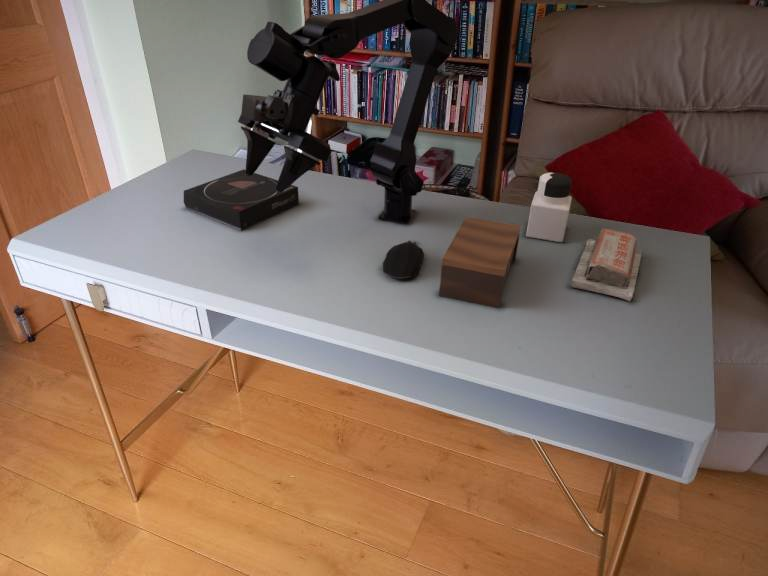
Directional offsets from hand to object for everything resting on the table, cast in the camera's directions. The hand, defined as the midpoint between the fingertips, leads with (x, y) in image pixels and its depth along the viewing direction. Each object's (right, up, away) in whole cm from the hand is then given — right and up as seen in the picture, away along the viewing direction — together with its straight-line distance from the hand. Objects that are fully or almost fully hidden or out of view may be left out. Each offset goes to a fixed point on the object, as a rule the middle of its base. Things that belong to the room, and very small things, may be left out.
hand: (262, 183), depth 97 cm
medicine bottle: (+52, -6, +21) cm, 57 cm away
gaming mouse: (+24, -13, +10) cm, 29 cm away
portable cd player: (-10, 0, +28) cm, 30 cm away
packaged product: (+60, -15, +8) cm, 62 cm away
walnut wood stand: (+36, -15, +5) cm, 40 cm away
